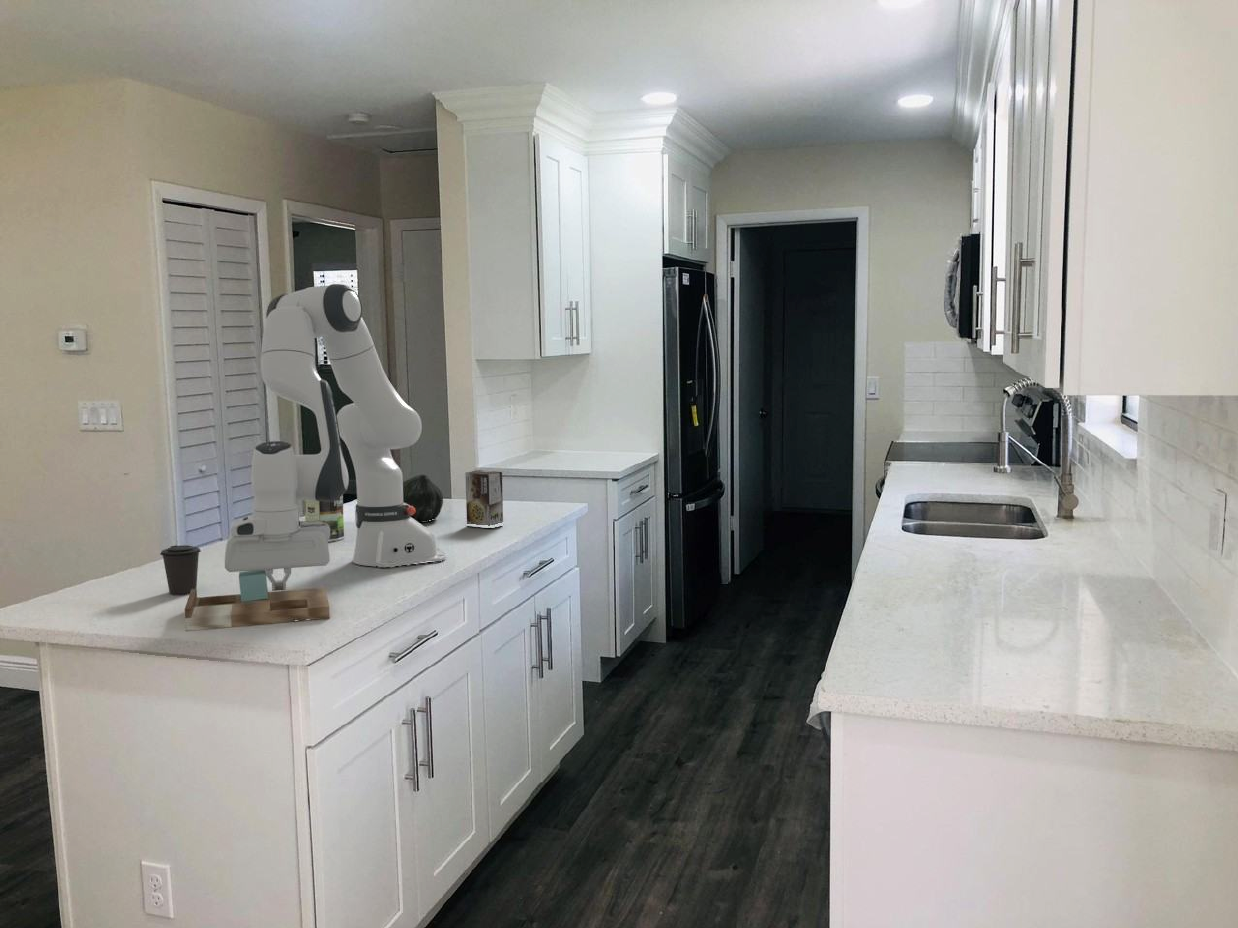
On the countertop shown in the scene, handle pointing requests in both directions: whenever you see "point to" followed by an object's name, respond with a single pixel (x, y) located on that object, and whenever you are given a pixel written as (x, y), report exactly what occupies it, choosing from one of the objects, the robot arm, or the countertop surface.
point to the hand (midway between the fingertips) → (279, 589)
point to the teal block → (253, 585)
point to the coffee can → (327, 516)
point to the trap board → (255, 609)
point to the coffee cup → (181, 568)
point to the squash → (423, 497)
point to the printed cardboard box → (484, 497)
